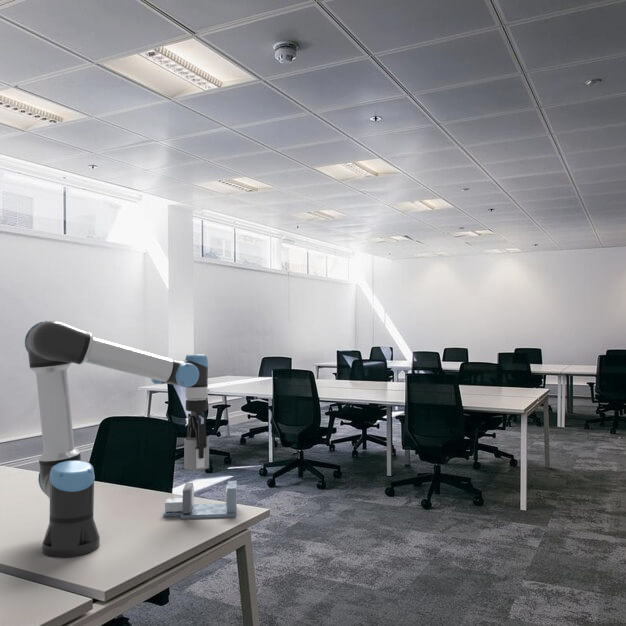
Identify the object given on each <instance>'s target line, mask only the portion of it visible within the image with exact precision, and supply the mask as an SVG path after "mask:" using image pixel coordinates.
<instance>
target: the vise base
mask: <svg viewBox="0 0 626 626" xmlns="http://www.w3.org/2000/svg"><path fill="white" fill-rule="evenodd" d="M237 488H238V487H237V480H228V481H227V484H226V488H225V489H226V490H225V503H199V504H197V503H195V504H194V503H193V506H192V509H191V513H183V511H175V512H165V510H164V511H163V518H167V517H169V518H170V517H171V516H175V517H180V520H189V518H198V519H222V518H223V519H224V518H227V519H228V518H236V517H237V503H238V502H237V499H238V498H237V497H238V496H237V494H238V493H237V490H238V489H237ZM171 518H172V517H171Z"/></svg>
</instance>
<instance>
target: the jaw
mask: <svg viewBox="0 0 626 626" xmlns="http://www.w3.org/2000/svg"><path fill="white" fill-rule="evenodd" d="M194 502H195V486H194V483H193V482H186V483H184V486H183V489H182V497H175V498H173V497H172V498H171V497H170V498H166V500H165V502H164V511H165V512H175V511H183V513H191V509H192V506H193V504H194Z"/></svg>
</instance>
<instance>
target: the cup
mask: <svg viewBox="0 0 626 626" xmlns="http://www.w3.org/2000/svg"><path fill="white" fill-rule="evenodd" d="M183 439H184V443H183V444H184V447H183V448H184V450H183V451H184V454H183V455H184V457H183V459H184V464H183V465H184V466H183V468H184V470H187V471H203V470H207V469H210V437H209V436H206V440H207V447H205V468H196V449H195V447H197V441H196V438H191V437H185V438H183Z"/></svg>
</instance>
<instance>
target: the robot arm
mask: <svg viewBox="0 0 626 626" xmlns="http://www.w3.org/2000/svg"><path fill="white" fill-rule="evenodd" d="M24 346H25V347H24V348H25V349H26V351H27V354H28V363H29V369H30V370H31V371H33V372H34V373H35V377H36V386H37V396H38V398H37V399H38V406H39V408H38V409H39V417H40V424H41V425H40V427H41V436H42V446H43V447H42V448H43V453H42V454H41V455H40V456H39V458H38V464H39V473H38V479H37V480H38V485H39V487H40V489H41V491H42V492H43V493H44V495H45V496H47V497H48V500H49V519H48V520H49V523H48V525H47V529H46V532H45V535H44V538H43V540H42V544H41V553H42V554H43V555H44V556H47V557H51V558H72V557H77V556H83V555H85V554H89V553H91V552H93V551H95V550H97V549H98V548H99V546H100V545H101V544H100V543H101V541H100V538H101V537H100V534H99V531H98V527H97V525H96V522H95V519H94V512H95V511H94V508H95V507H94V505H95V504H94V503H95V479H96V478H95V477H96V476H95V470H94V466H93V465H92V464H91V463H90V462H88V461H82V457H81V450H79V449H78V448H77V447H76V446H75V441H74V431H73V421H72V420H73V419H72V418H73V417H72V410H71V409H72V408H71V400H70V389H69V378H68V369H69V367H70V366H71V364H77V365H79V366H81V365H83V364H84V363H86V364H90V365H95V366H100V367H103V368H107V369H111V370H116V371H119V372H123V373H128V374H132V375H136V376H139V377H142V378H143V377H144V378H147V379H151V382H152V383H153V384H154V385H155V384H156V385H158V384H159V385H163V384H165V385H166V384H169V385H174V386H179V387H182V388H185V399H186V400H185V411H187V412H190V413H187V437H191V438H196V441H197V447H195V449H196V468H205V447H207V440H206V437H207V426H206V425H207V423H206V422H207V418H206V417H204V414H203V412H206V411H207V410H208V408H209V403H208V402H209V401H208V397H209V396H208V395H209V394H208V393H209V392H210V388H208V383H209V382H208V381H209V380H208V377H209V361H208V360H209V359H208V356H207V355H206V354H203V353H201V354H200V353H199V354H198V353H196V354H193V353H192V354H186V356H185V360H177V359H172V358H170V357H166V356H162V355H158V354H155V353H151V352H148V351H144V350H141V349H137V348H134V347H130V346H126V345H123V344H120V343H119V344H118V343H115V342H112V341H108V340H105V339H101V338H97V337H95V336H93V335H92V333H91V332H88V331H85V330H82V329H79V328H76V327H74V326H71V325H69V324H68V323H67V324H66V323H65V322H61V321H57V320H53V321H51V320H49V321H48V320H45V321H40V322H37V323H36V324H34V325H33V326H31V327H30V329H28V331H27V333H26V334H25V338H24ZM187 437H186V438H187Z"/></svg>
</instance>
